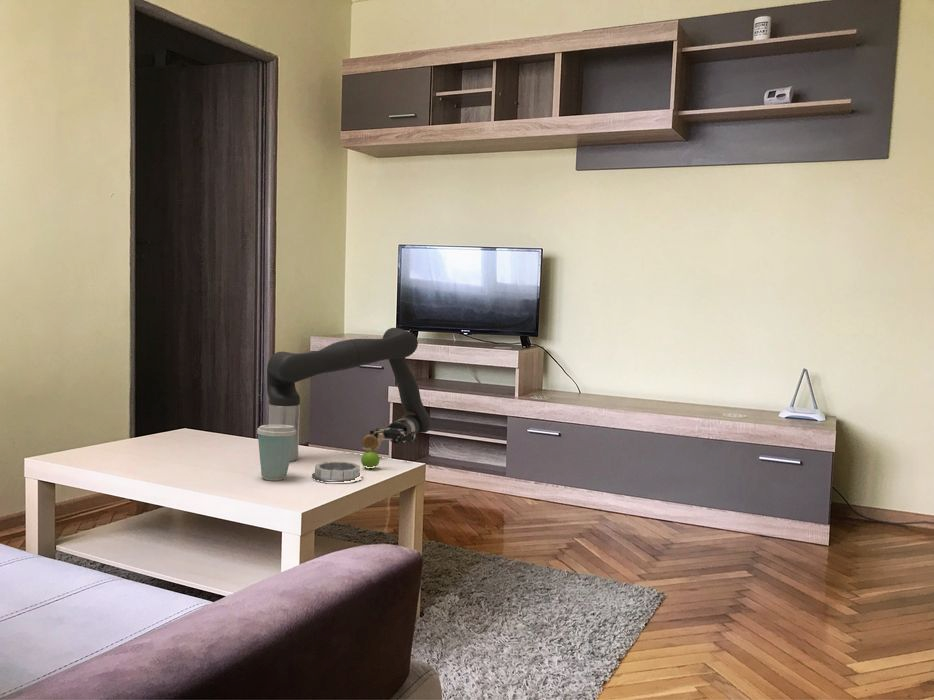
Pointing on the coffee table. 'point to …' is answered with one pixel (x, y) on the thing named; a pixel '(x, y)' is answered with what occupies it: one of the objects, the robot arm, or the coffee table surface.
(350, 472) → the collar base
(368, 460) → the snail figurine
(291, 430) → the disposable coffee cup
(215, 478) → the coffee table surface
